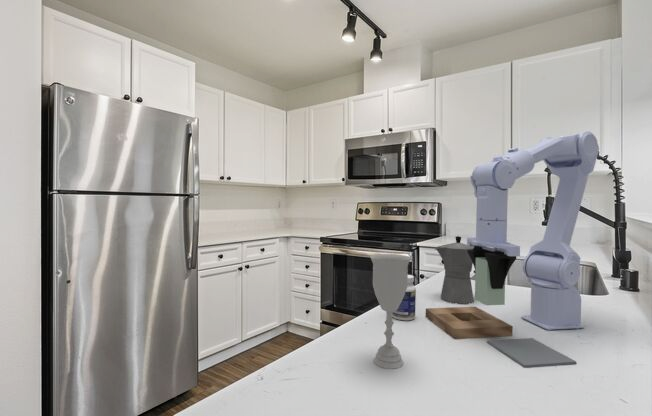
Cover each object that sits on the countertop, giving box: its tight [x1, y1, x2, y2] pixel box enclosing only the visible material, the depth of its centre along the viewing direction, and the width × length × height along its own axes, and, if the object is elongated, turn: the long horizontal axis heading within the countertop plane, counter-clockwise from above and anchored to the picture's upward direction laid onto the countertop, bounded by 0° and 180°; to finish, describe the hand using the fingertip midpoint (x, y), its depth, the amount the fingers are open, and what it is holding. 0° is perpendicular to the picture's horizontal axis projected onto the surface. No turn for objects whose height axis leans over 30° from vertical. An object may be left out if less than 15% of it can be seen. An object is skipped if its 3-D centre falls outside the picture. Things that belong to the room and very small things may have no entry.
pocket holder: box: [425, 306, 513, 340], centre depth 75 cm, size 13×13×2 cm
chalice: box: [369, 253, 412, 370], centre depth 58 cm, size 7×7×18 cm
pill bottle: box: [392, 274, 417, 321], centre depth 80 cm, size 6×6×10 cm
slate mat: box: [486, 337, 577, 368], centre depth 62 cm, size 10×10×1 cm
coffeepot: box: [434, 235, 475, 305], centre depth 95 cm, size 15×9×18 cm, turn 94°
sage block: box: [474, 257, 506, 306], centre depth 70 cm, size 4×4×9 cm
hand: (489, 285), depth 70 cm, fingers closed on sage block, 4 cm apart
